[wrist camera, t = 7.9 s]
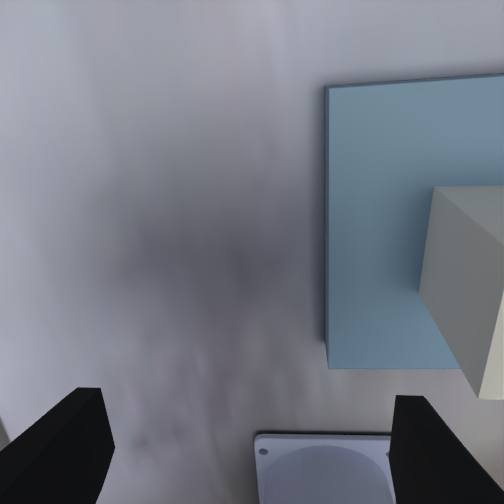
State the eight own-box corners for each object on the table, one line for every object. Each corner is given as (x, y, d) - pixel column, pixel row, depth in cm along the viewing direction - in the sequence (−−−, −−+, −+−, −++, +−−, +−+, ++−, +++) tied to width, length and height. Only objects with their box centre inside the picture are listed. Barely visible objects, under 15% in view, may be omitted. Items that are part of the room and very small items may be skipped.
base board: (583, 340, 20) (612, 368, 18) (325, 342, 21) (328, 368, 19) (665, 61, 15) (718, 61, 13) (324, 86, 16) (329, 88, 14)
